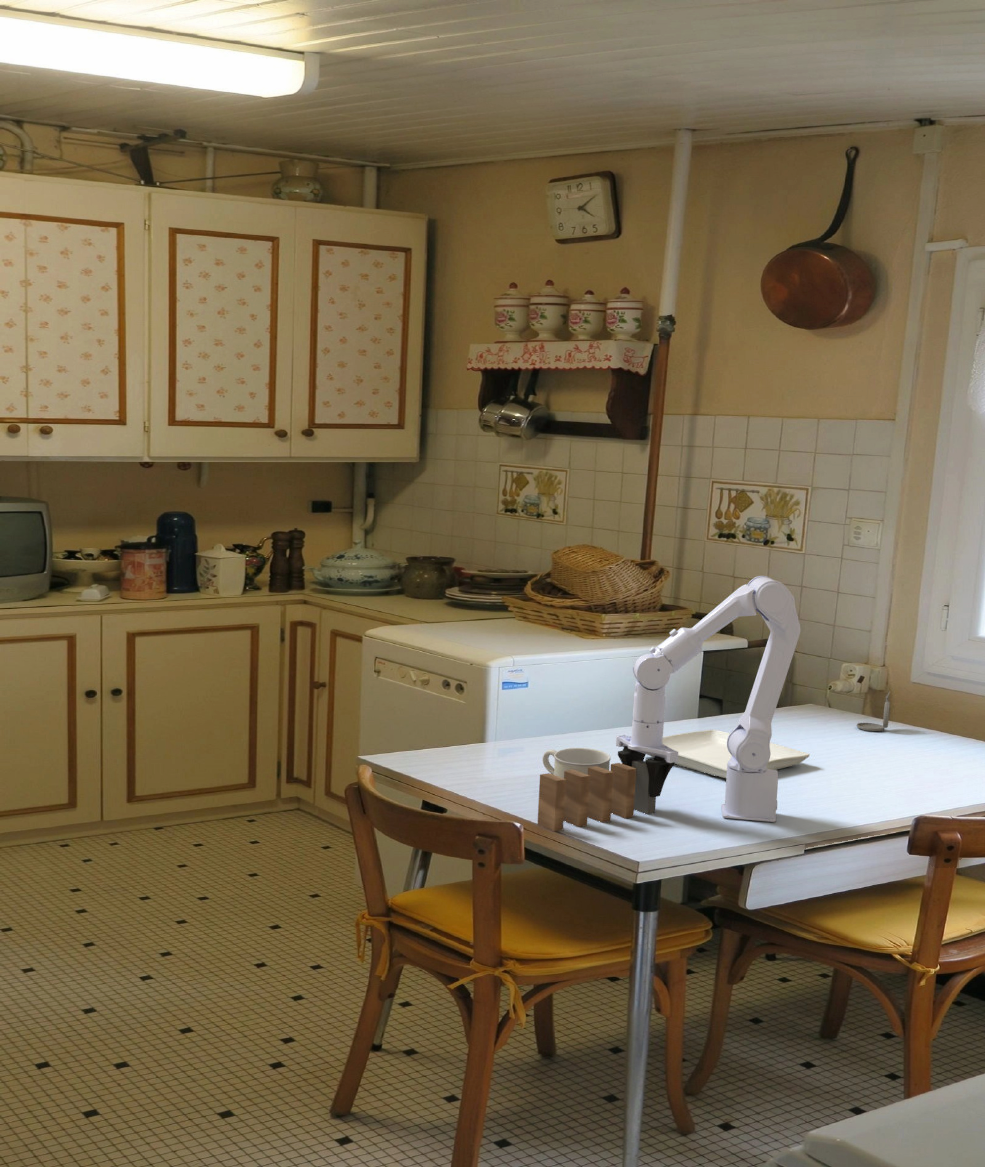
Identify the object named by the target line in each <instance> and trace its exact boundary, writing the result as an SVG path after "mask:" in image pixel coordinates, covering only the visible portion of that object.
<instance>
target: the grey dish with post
mask: <svg viewBox="0 0 985 1167" xmlns="http://www.w3.org/2000/svg"><path fill="white" fill-rule="evenodd" d="M890 693H891V691H888V694H886V696H885V702H884V708H883V717H882V718H883V719H882V720H883V721H882V724H880V723H879V724H878V723H874V722H858V723H856V727H857V728H858V729H860V730H863V731H868V732H882V731H885V729H887V728H888V727H889V721H890V720H889V719H890V713H891V712H890V708H891V706H890V705H891V702H890V701H889V699H890Z"/></svg>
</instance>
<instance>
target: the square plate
mask: <svg viewBox="0 0 985 1167" xmlns="http://www.w3.org/2000/svg"><path fill="white" fill-rule="evenodd" d="M730 733H731V732H726V731H721V730H717V729H707V730H698V731H691V732H684V733H679V734H673V735H667V736H663V744H664V745H666V746H668V747H669V748H671V749H673V750H675V751H678V762H675V764H677V765H676V766H678V765H680V766H679V767H681V766H683V767H682V768H685V767H687V768H686V769H688V768H691V769H690V770H692V769H695V770H698V771H697V772H699V771H701V772H700V773H702V772H705V773H704V774H706V773H708V774H707V775H709V774H711V775H710V776H713V775H715V776H714V777H717V776H719V777H718V778H721V779H722V778H723V779H726V777H727V763H728V761H729V760H730V758H731V757H732V755H731V754H730V752H729V751H728V748H727V739H728V736H729V734H730ZM770 752H771V755H770V759H769V762H768V763H767V769H771V770H777V771H778V770H781V769H784V768H789V767H792V766H797V765H799V764H801V763H803V762H804V761H805V760H806V759H808V758H809V757H810V754H811V753H807V752H803V751H800V750H797V749H794V748H790V747H787V746H783V745H779V744H778V743H777V744H776V743H774V742H773V743H772V742H770ZM648 756H649V757H652V758H654V757H653V756H650V755H648ZM695 770H694V771H695Z"/></svg>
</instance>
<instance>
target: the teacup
mask: <svg viewBox="0 0 985 1167" xmlns="http://www.w3.org/2000/svg"><path fill="white" fill-rule="evenodd" d="M550 756H552V757H553V758H554V762H553V763H554V764H553V765H554V766H553V765H552V764H551V762H550V758H549V757H550ZM610 762H611V756H610V754H608V753H607V752H605V751H602V750H599V749H594V748H587V747H572V748H571V747H570V748H563V749H561V750H558V751H557V750H555V749H548V750H545V752H544V754H543V755H542V764H543V766H544V768H545V769H546V771H547V772H548V773H550V774H552V775H555V776H558V777H560V778H563V779H564V771H568V770H575V771H578V772H581V773H584V774H586V775H588V767H595V766H597V767H600V768H603V769H606V770H609V771H610V766H611V764H610Z"/></svg>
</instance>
